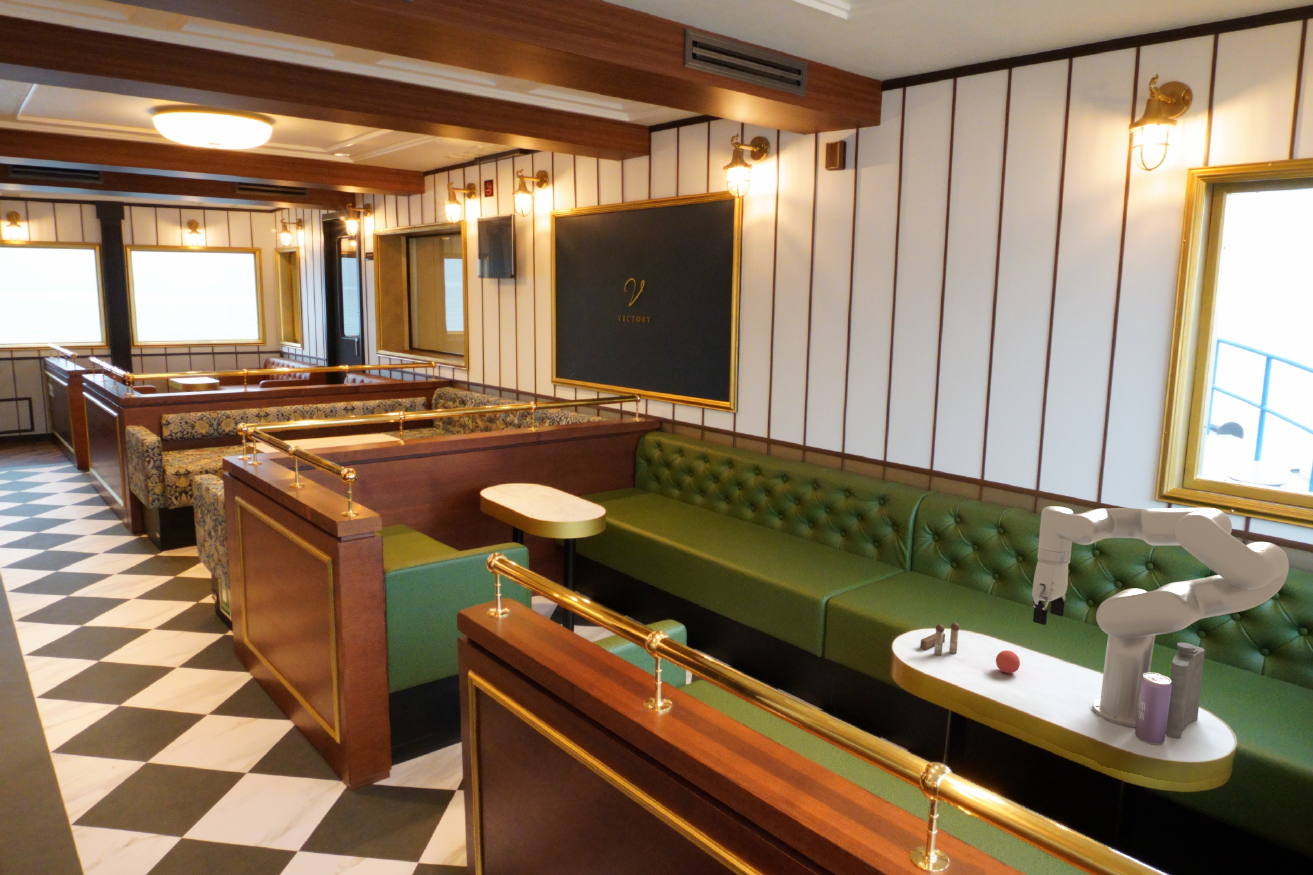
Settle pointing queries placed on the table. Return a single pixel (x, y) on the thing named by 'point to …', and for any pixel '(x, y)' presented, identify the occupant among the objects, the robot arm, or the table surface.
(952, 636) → the pin
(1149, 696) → the beverage can
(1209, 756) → the table surface
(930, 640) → the stopper wall
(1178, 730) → the hip flask
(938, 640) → the pin
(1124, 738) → the table surface
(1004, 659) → the ball
